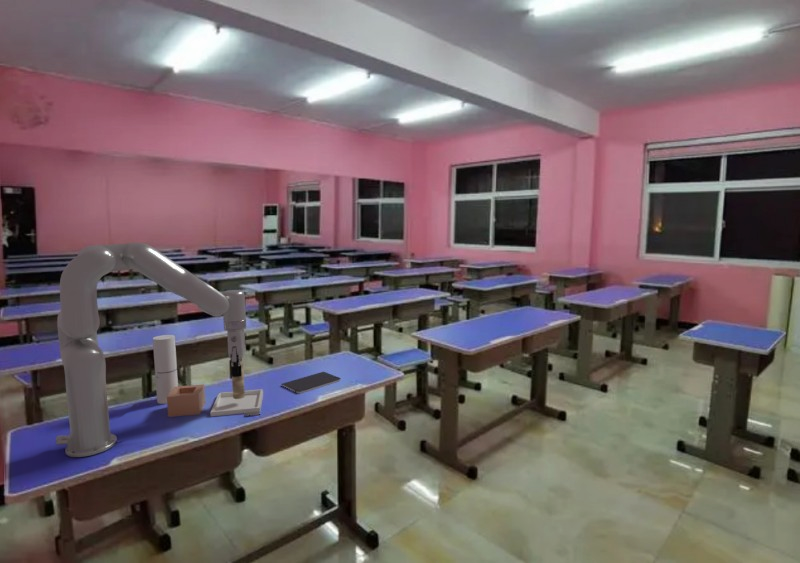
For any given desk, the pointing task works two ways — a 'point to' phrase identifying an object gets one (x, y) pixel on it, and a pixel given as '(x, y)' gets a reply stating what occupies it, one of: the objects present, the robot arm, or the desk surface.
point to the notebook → (311, 382)
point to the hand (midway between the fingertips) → (237, 373)
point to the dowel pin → (238, 384)
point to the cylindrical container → (165, 366)
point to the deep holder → (186, 400)
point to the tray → (238, 403)
